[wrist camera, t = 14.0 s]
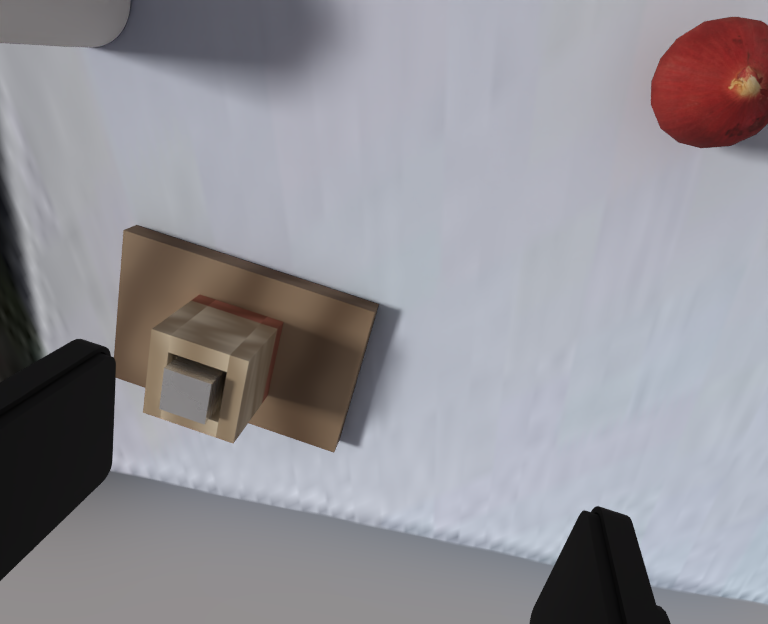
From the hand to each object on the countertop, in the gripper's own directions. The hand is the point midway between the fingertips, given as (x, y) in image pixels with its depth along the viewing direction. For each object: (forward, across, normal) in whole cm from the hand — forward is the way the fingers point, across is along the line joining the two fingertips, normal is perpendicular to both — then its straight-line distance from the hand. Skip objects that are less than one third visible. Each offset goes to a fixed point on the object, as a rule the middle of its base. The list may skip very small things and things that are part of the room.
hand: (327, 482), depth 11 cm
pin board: (+26, +12, +13) cm, 32 cm away
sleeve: (+25, +12, +13) cm, 31 cm away
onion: (+27, -11, -10) cm, 31 cm away
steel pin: (+25, +12, +13) cm, 31 cm away
